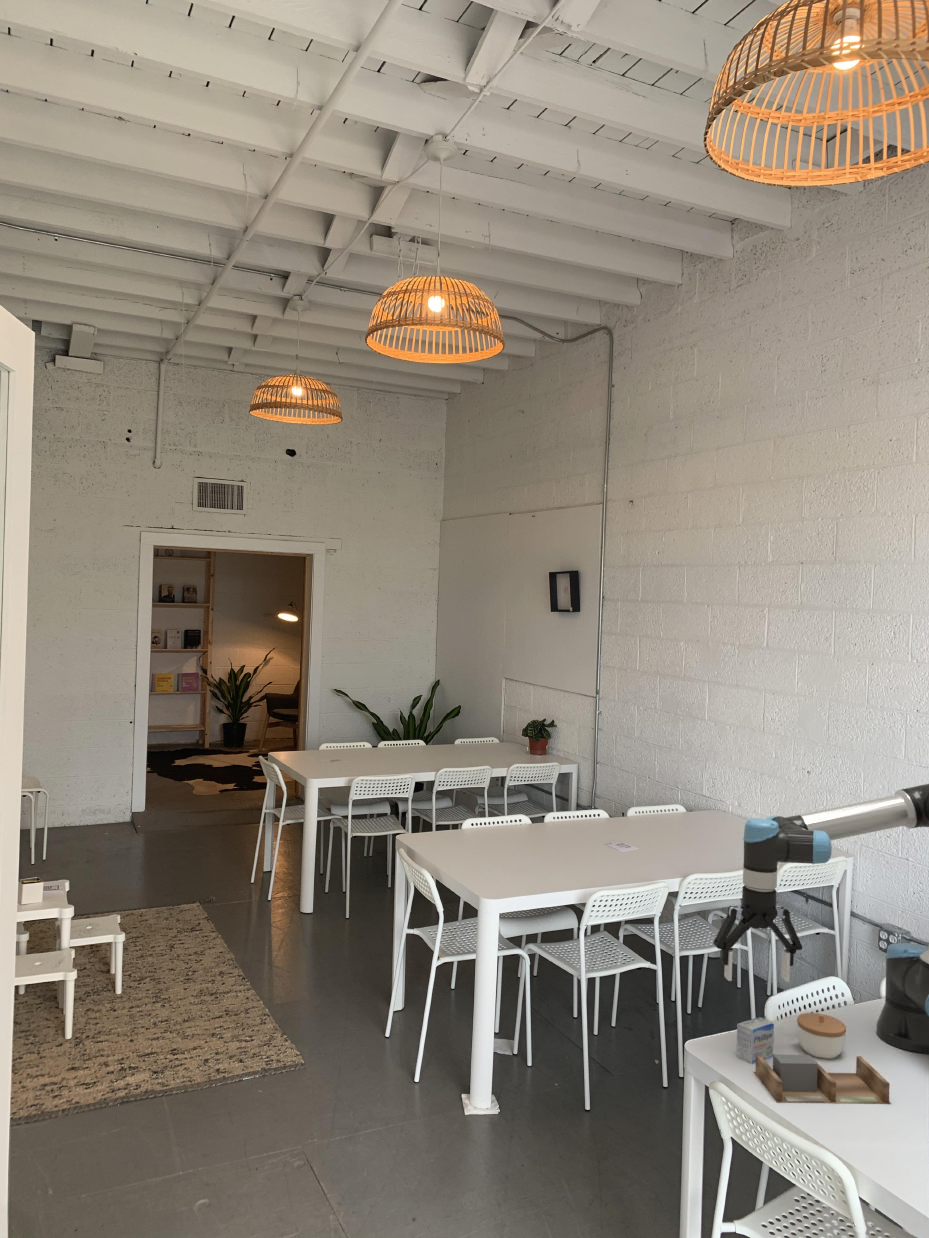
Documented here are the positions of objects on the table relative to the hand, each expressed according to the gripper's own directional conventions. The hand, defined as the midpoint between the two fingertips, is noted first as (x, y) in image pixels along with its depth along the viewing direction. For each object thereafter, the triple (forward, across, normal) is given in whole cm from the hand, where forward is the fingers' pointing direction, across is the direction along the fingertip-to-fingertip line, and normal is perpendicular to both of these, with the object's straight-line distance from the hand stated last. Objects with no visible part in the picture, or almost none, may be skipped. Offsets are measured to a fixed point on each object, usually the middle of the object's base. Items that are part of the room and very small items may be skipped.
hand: (756, 979), depth 205 cm
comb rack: (+19, -9, +14) cm, 25 cm away
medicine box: (+19, 0, 0) cm, 19 cm away
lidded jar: (+19, -17, -3) cm, 26 cm away
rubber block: (+18, -3, +14) cm, 23 cm away
